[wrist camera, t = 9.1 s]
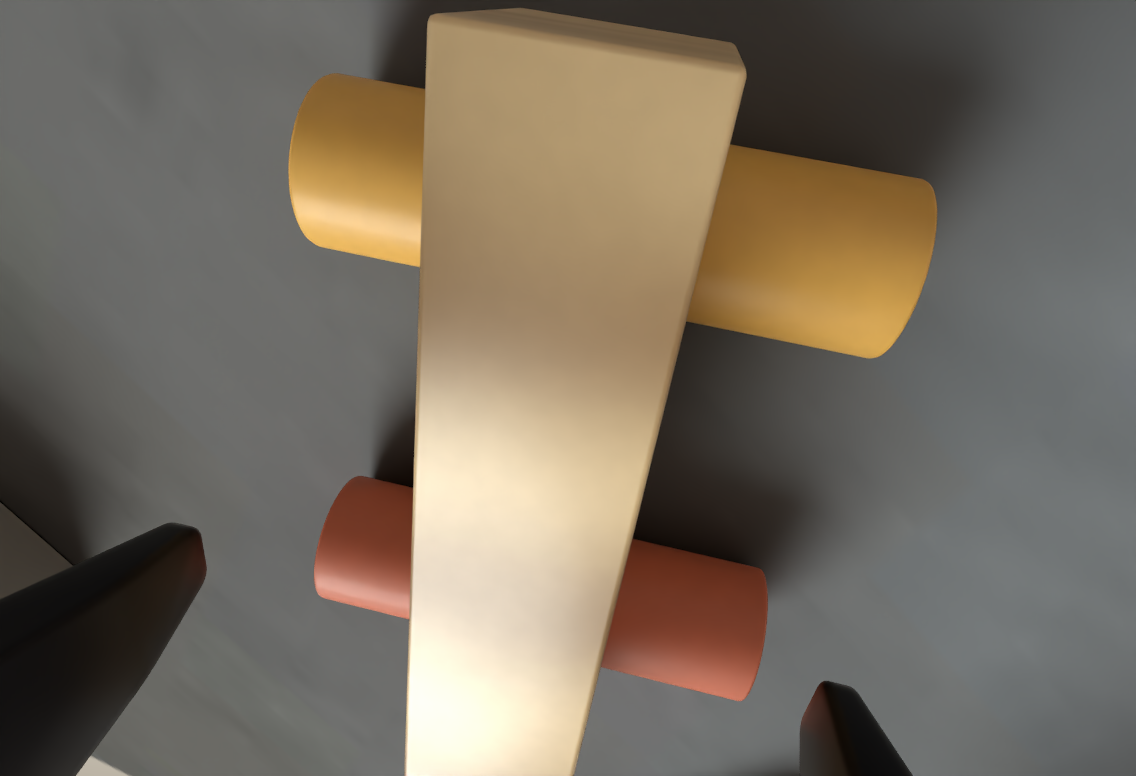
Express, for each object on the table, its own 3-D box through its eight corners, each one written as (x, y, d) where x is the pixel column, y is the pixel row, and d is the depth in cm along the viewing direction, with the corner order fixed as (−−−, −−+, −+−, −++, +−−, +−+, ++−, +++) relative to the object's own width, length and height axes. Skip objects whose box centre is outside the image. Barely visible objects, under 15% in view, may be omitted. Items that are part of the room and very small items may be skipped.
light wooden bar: (575, 730, 17) (545, 891, 14) (455, 700, 17) (400, 850, 14) (737, 43, 9) (749, 67, 6) (516, 7, 9) (424, 11, 6)
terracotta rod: (732, 626, 18) (734, 730, 16) (369, 539, 19) (316, 624, 17) (763, 541, 17) (772, 641, 14) (368, 451, 18) (309, 529, 15)
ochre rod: (849, 316, 14) (880, 391, 11) (366, 220, 15) (292, 269, 12) (908, 161, 12) (960, 206, 10) (365, 65, 13) (279, 82, 10)
